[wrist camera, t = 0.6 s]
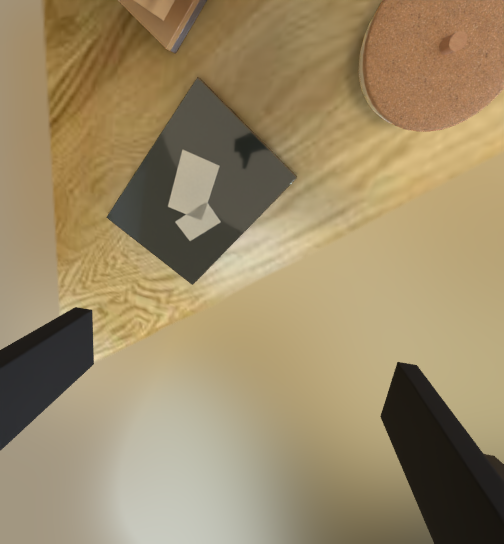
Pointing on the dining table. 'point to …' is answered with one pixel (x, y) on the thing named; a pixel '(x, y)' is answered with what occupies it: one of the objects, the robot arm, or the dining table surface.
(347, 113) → the dining table surface
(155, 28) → the wooden stepped block
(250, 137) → the slate board
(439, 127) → the trinket box
